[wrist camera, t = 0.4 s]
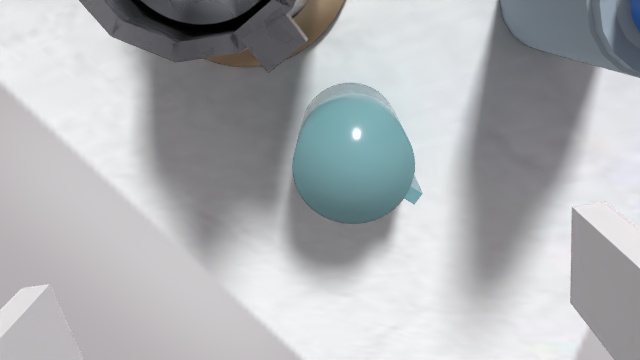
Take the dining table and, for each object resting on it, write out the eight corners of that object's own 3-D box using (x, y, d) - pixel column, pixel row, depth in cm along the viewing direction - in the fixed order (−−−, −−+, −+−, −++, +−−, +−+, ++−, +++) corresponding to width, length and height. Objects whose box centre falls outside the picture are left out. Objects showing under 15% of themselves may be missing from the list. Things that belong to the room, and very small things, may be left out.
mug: (284, 145, 42) (270, 186, 33) (334, 63, 39) (334, 84, 30) (377, 201, 43) (389, 254, 34) (432, 126, 41) (459, 163, 32)
